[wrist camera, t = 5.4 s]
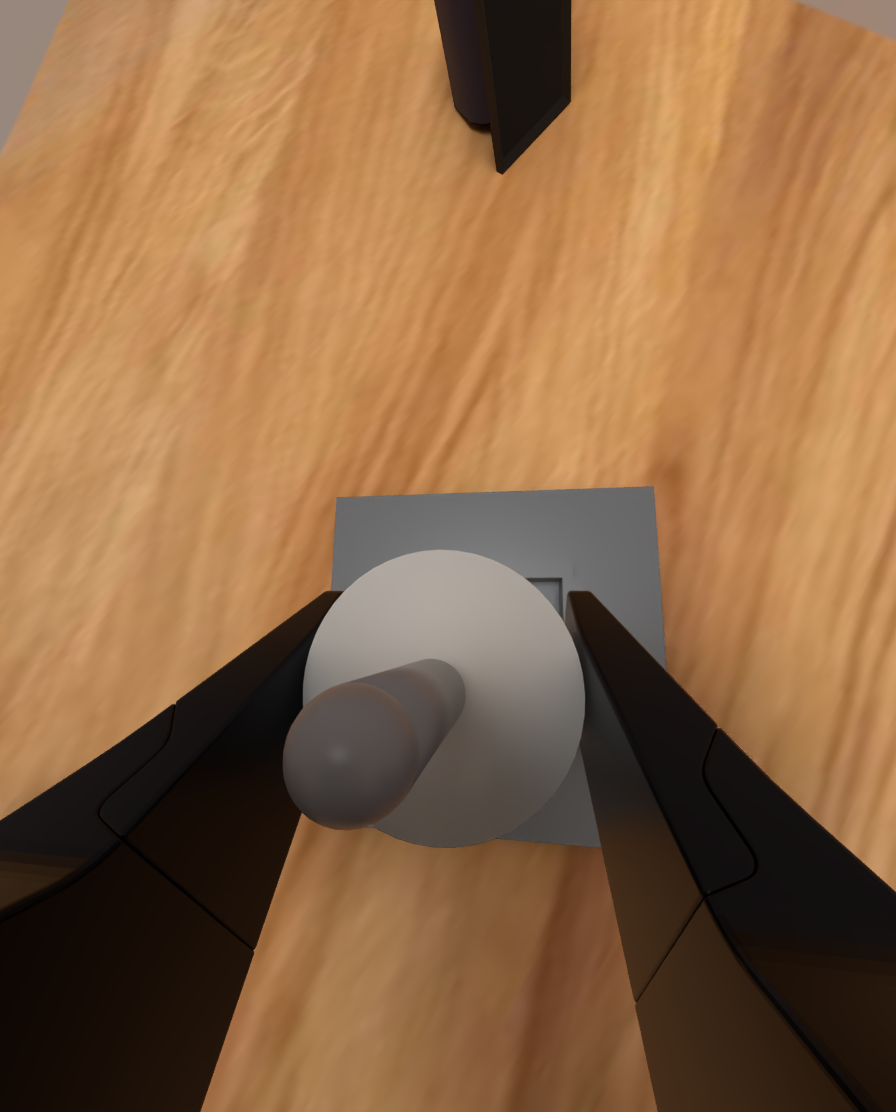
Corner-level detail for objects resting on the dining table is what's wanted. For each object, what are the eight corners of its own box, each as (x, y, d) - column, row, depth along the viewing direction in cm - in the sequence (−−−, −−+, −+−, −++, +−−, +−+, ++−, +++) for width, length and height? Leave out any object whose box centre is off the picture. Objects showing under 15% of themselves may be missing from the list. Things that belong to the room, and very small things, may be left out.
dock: (674, 847, 16) (696, 877, 14) (322, 818, 18) (299, 840, 16) (649, 490, 19) (665, 473, 17) (340, 500, 21) (322, 487, 19)
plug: (573, 686, 14) (883, 985, 2) (454, 752, 14) (151, 1351, 2) (503, 569, 15) (454, 337, 3) (393, 632, 15) (-35, 635, 3)
